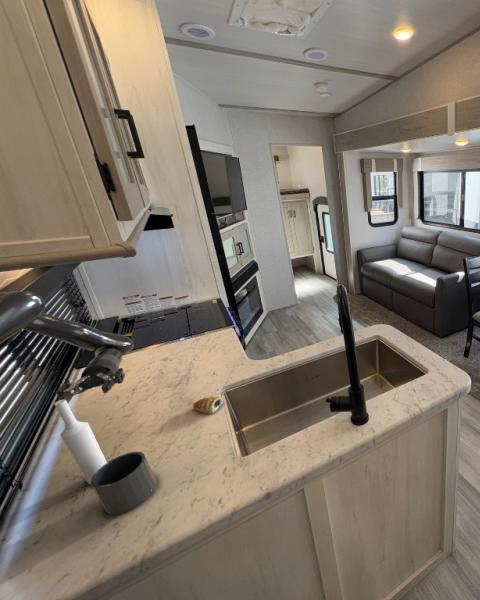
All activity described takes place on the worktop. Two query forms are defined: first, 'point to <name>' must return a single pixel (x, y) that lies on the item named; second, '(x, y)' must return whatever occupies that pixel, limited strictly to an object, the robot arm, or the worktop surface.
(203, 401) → the pastry
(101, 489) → the bowl
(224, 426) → the worktop surface
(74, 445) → the bottle
